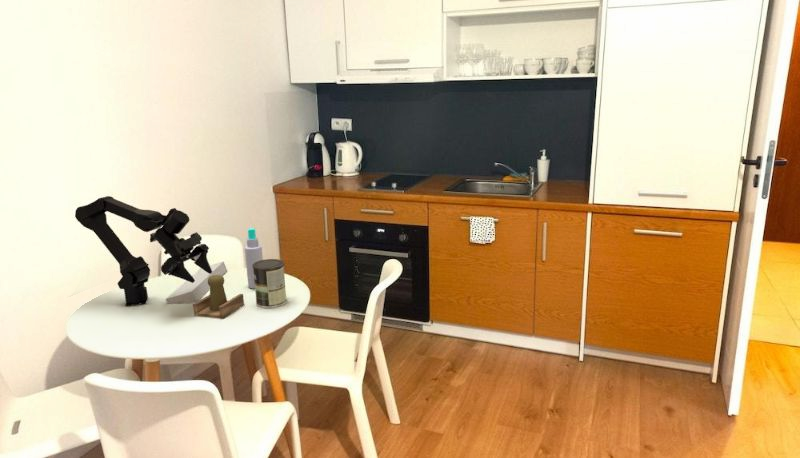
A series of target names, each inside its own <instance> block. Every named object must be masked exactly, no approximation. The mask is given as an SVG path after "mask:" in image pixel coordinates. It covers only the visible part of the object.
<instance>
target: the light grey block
mask: <svg viewBox="0 0 800 458" xmlns="http://www.w3.org/2000/svg"><path fill="white" fill-rule="evenodd" d="M209 265H210V268H211V270H212V273H211V274H209V273H208V272H206V271H205V270H203V269H202V268H200V267H199V269H198V270H197V271H196V272H195V273H193V274H191V276H192V277H193V278H194V280H195V281H194V283H192V282H189V281H187V280H185V281H184V282H183V283H182V284H180V285H179V286H178V287H177V288H176V289H175V290H174V291H173V292H172V293H170V294H169V295H168V296H166V298H165V301H166V303H167V304H180V303H181V304H183V303H186V304H194V303H196V302H198V301H200V300H201V299H203V298H204V296H205V295H206V294H207V293H208V292H210V290H209V289H210V286H209V285H208V278H209V277H211V276H213V275H221V276H223V277H224V275H226V273H227V272H228V269H227V267H226V264H225V262H224V261H221V262H217V263H214V264H209Z"/></svg>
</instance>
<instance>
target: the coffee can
mask: <svg viewBox="0 0 800 458" xmlns="http://www.w3.org/2000/svg"><path fill="white" fill-rule="evenodd" d="M252 266H253V272H254V283H255V289H254V291H255V305H256V306H257V307H258V308H261V309H274V308H279V307H282V306H284V305H285V304H286V303H287V301H288V300H287V293H286V292H287V291H286V280H285V262H284V260H282V259H278V258H277V259H276V258H268V259H267V258H266V259H263V260H261V261H257V262H255V263H254V264H253V265H252Z"/></svg>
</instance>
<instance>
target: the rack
mask: <svg viewBox="0 0 800 458" xmlns="http://www.w3.org/2000/svg"><path fill="white" fill-rule="evenodd" d="M244 300H245V299H244V294H243V293H239V294H237V295H236V296H234V297H232V298H231V299H229V300H227V302H226V303H224V304H223V305H221V306H219V311H211V310H210V294H209V295H207V296H205V297H202V298H201V299H200V300H199V301H198V302H196V303H192V306H193V316H194V317H204V318H210V319H211V318H212V319H221V320H223V319H225V318H227V317H229V316H231V315H232V314H234V312H236V311H238V310H239V309H240V307H241V308H243V307H244V306H245V301H244ZM243 305H244V306H243Z"/></svg>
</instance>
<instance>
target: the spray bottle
mask: <svg viewBox="0 0 800 458" xmlns="http://www.w3.org/2000/svg"><path fill="white" fill-rule="evenodd" d="M247 234H248V235H247V236H248V237H247V238H246V246H244V254H245V266H246V275H247V285H248V288H250V289H251V288H252V289H253V290H255V283H254V272H253V266H252V265H253V264H254V263H255V262H257V261H261V260H264V257H263V249H262V248H263V247H262V245H261V244H259V238H258V237H257V236H256V229H255V228H253V227H252V228H248V229H247Z"/></svg>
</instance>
